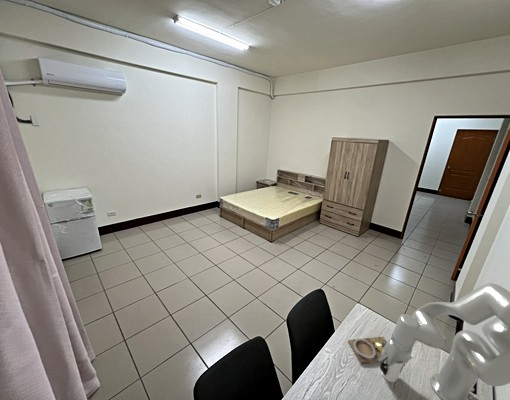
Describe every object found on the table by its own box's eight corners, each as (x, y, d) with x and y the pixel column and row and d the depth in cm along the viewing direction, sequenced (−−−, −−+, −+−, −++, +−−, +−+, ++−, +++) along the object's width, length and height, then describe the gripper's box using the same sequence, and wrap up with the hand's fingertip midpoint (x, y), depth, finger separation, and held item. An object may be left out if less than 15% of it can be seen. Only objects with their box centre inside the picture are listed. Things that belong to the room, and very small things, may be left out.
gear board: (382, 338, 114) (383, 336, 113) (398, 359, 104) (399, 357, 103) (348, 342, 111) (348, 340, 110) (360, 364, 100) (361, 362, 100)
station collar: (366, 339, 111) (367, 337, 111) (379, 358, 102) (379, 356, 102) (349, 341, 109) (350, 339, 109) (361, 360, 100) (361, 358, 100)
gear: (383, 338, 112) (385, 332, 111) (396, 355, 104) (398, 349, 102) (368, 340, 111) (370, 333, 109) (380, 357, 103) (382, 350, 101)
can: (391, 368, 100) (399, 350, 96) (399, 384, 94) (407, 365, 90) (377, 366, 100) (384, 348, 96) (384, 381, 94) (391, 363, 90)
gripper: (412, 332, 95) (400, 359, 101) (377, 335, 92) (367, 363, 98) (427, 348, 88) (413, 377, 94) (390, 352, 85) (378, 382, 91)
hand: (390, 370), depth 96 cm, fingers open, 6 cm apart
